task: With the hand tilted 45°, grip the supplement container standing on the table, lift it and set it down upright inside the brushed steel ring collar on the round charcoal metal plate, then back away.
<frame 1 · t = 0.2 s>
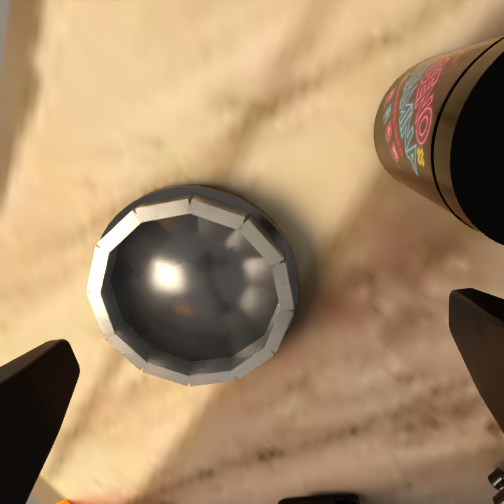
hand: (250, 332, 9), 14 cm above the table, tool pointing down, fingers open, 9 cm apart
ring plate: (197, 284, 25), on the table
supplement container: (432, 125, 21), on the table
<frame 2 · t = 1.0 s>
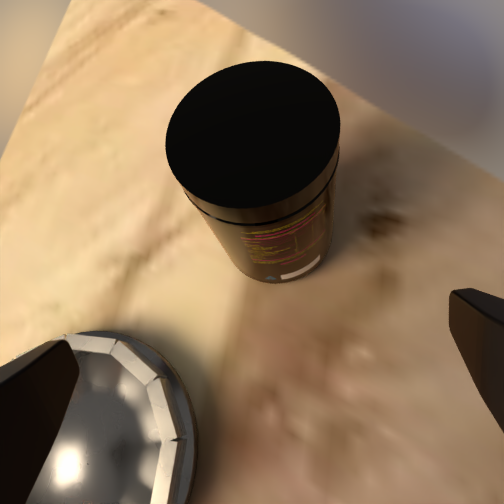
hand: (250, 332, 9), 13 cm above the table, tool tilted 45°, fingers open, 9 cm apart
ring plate: (85, 450, 21), on the table
supplement container: (278, 236, 24), on the table
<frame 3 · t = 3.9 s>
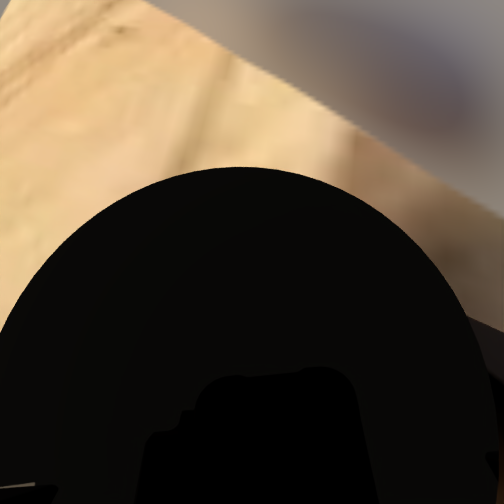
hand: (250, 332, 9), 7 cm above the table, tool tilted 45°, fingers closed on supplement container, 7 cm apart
supplement container: (284, 400, 15), on the table, touching gripper
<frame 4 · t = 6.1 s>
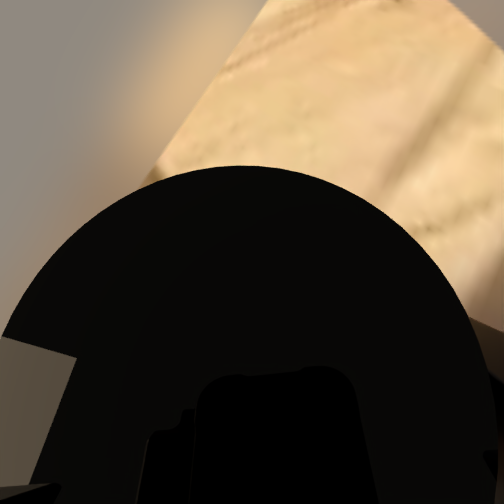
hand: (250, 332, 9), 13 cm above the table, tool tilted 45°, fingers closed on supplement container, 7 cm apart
supplement container: (284, 398, 15), point 6 cm above the table, touching gripper
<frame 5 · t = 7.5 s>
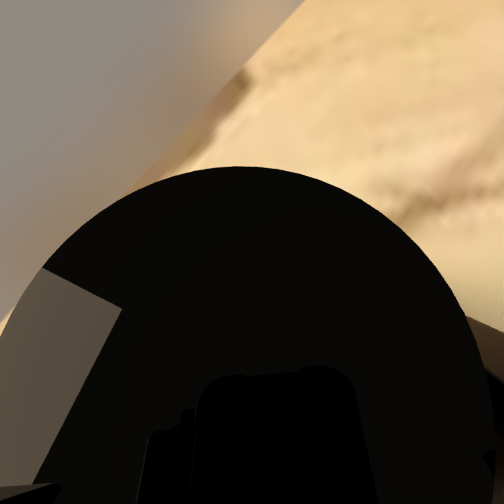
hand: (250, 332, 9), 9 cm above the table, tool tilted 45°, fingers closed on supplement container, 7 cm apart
supplement container: (284, 398, 15), point 2 cm above the table, touching gripper
when the fingers open (8 cm above the table, at t = 8.7 s): supplement container stays where it is, resting on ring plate.
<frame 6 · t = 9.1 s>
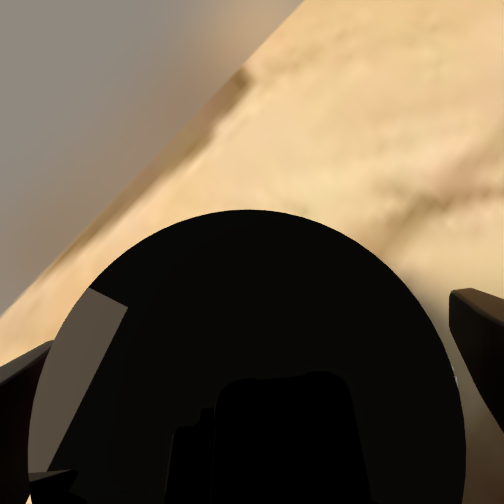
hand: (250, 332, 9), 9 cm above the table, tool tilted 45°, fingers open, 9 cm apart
supplement container: (287, 404, 16), point 1 cm above the table, touching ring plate
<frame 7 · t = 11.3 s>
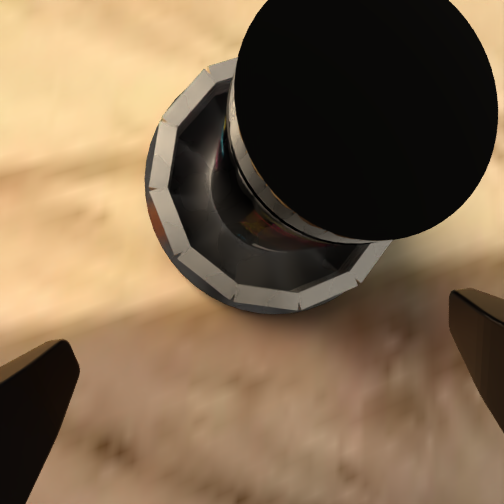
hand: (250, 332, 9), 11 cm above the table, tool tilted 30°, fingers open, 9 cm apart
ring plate: (273, 188, 20), on the table
supplement container: (274, 188, 20), point 1 cm above the table, touching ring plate
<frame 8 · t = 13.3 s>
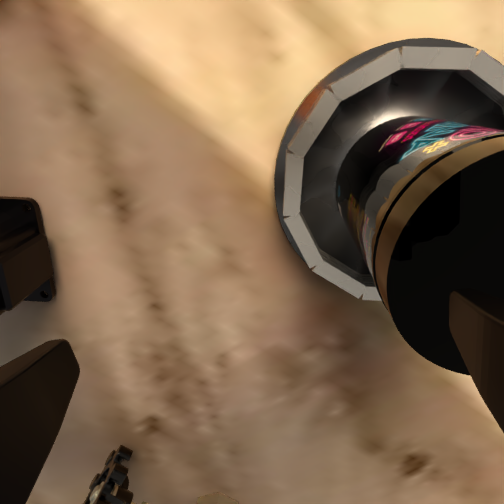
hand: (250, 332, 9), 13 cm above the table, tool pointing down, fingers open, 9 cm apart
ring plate: (397, 180, 20), on the table
valve: (178, 482, 31), on the table
supplement container: (398, 183, 20), point 1 cm above the table, touching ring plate
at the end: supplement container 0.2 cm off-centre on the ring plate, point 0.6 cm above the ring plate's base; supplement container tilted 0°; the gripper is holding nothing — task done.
